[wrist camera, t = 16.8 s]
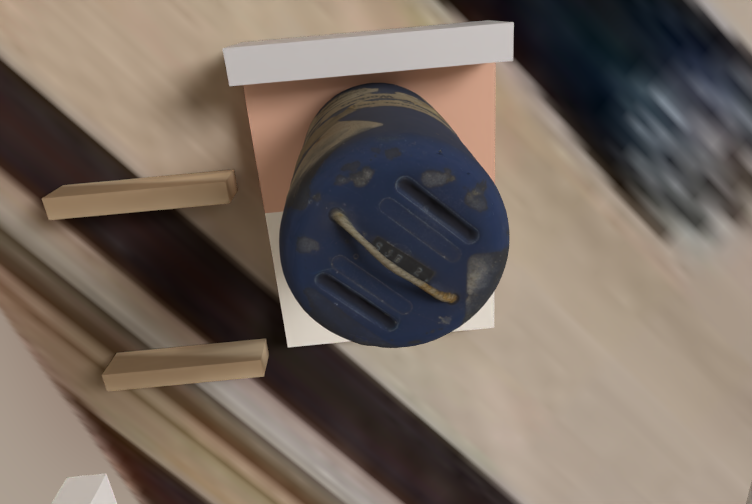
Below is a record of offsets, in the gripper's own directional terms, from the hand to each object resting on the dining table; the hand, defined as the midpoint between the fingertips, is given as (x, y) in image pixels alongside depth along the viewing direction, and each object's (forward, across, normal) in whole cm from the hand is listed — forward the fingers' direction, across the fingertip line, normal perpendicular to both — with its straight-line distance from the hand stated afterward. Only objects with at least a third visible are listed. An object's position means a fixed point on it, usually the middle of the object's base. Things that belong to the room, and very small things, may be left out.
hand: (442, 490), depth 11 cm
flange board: (+30, 0, +3) cm, 30 cm away
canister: (+28, 0, 0) cm, 29 cm away
